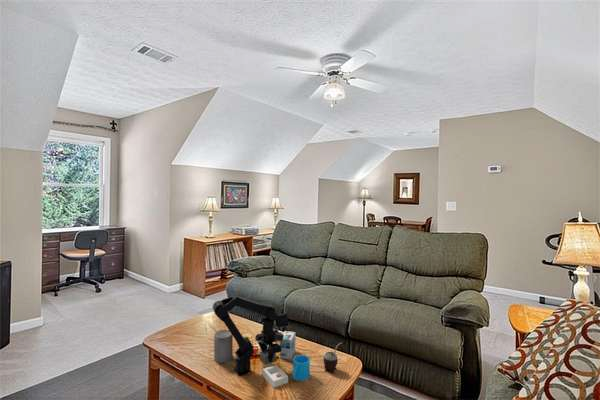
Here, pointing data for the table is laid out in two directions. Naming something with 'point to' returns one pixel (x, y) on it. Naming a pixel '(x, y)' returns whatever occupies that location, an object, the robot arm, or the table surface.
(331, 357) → the mate gourd
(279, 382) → the socket
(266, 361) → the plug
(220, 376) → the table surface
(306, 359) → the mug
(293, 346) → the light bulb box
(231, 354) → the pillar candle
